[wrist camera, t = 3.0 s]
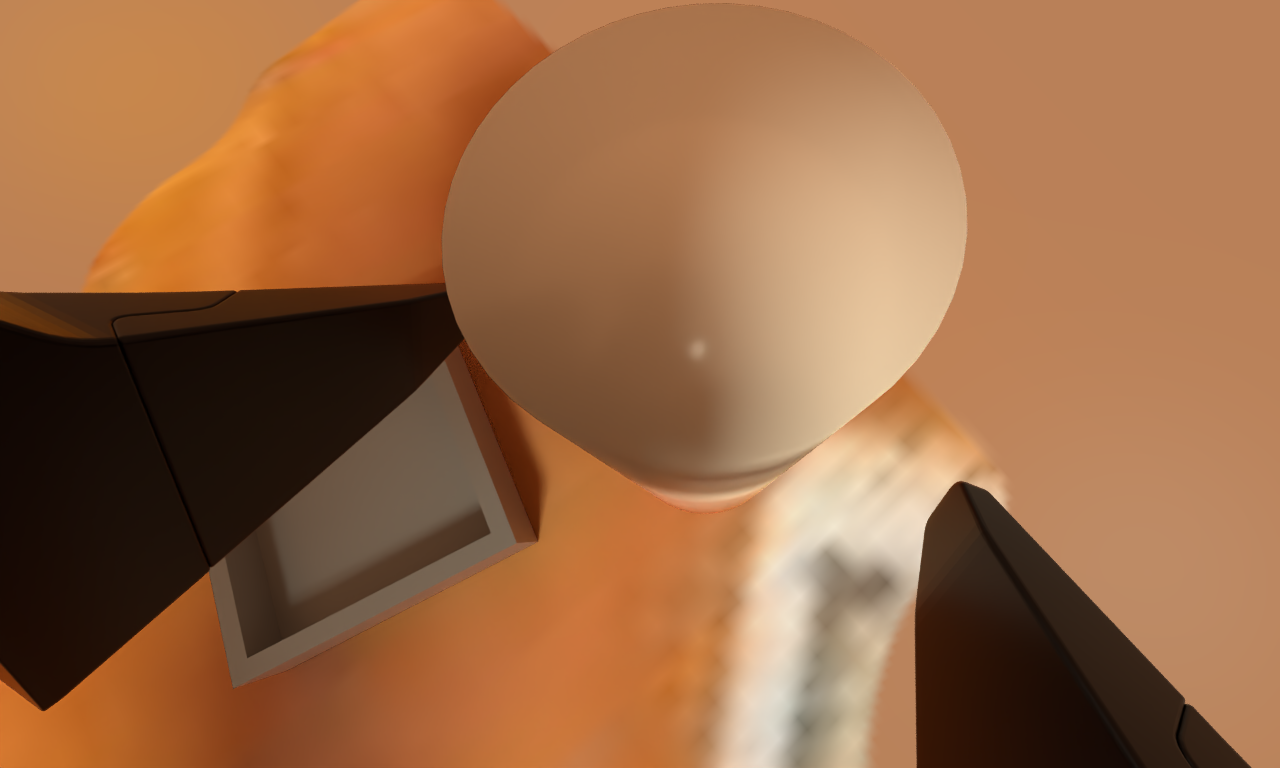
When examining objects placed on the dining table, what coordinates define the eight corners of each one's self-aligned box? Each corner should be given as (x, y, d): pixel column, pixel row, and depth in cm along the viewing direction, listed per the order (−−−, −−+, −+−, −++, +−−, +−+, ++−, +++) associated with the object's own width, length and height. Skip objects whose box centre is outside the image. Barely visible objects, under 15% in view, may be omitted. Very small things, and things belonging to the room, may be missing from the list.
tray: (538, 541, 17) (516, 542, 15) (285, 671, 17) (232, 688, 15) (445, 314, 20) (417, 290, 18) (227, 424, 20) (175, 413, 18)
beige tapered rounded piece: (809, 469, 17) (1095, 293, 4) (670, 541, 17) (558, 570, 4) (733, 340, 18) (782, -66, 6) (604, 405, 18) (380, 136, 6)
